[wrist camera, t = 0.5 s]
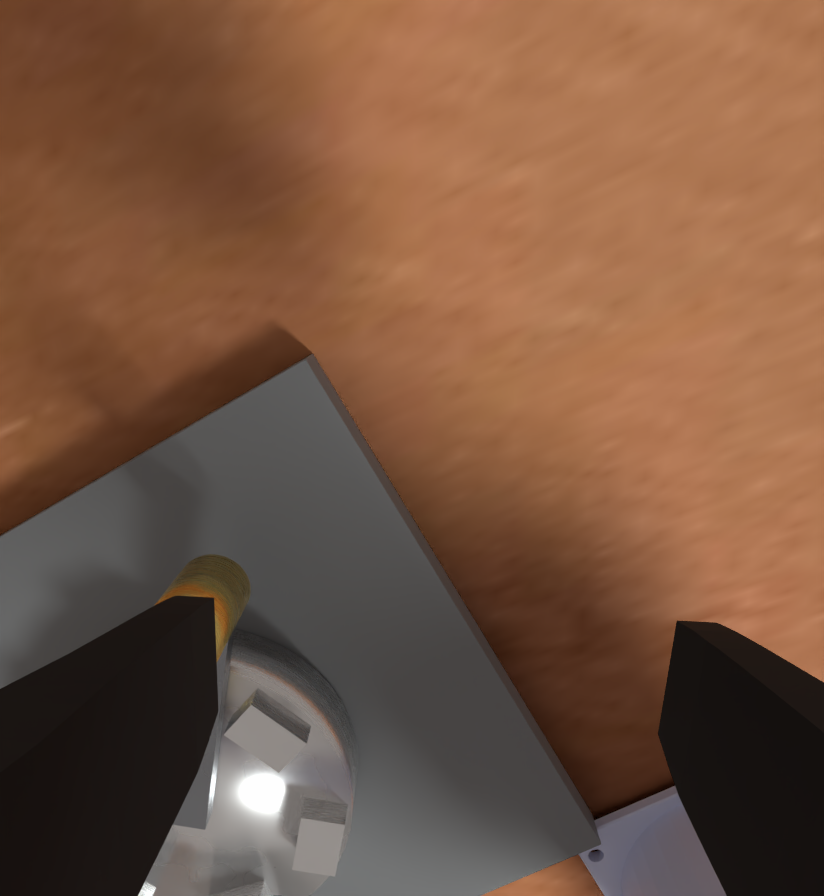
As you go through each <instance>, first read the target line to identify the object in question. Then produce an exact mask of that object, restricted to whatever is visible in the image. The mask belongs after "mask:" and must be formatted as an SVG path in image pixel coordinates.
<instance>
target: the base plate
mask: <svg viewBox="0 0 824 896" xmlns="http://www.w3.org/2000/svg"><path fill="white" fill-rule="evenodd" d="M208 554H215V555H221V556H224V557H227V558H229V559H231V560H233V561H235V562H236V563H237V564H238V565H240V566H241V568H242V569H243V570H244V571H245V573H246V574H247V576H248V579H249V582H250V587H251V593H250V598H249V601H248V603H247V605H246V607H245V609H244V611H243V613H242V615H241V617H240V618H239V620H238V622H237V624H236V626H235V630H239V631H244V632H248V633H251V634H254V635H257V636H260V637H263V638H265V639H268V640H270V641H272V642H274V643H276V644H278V645H280V646H282V647H285V648H286V649H288V650H290V651H291V652H293V653H294V654H296V655H297V656H299V657H300V658H302V659H303V660H305V661H306V662H307V663H308V664H309V665H311V666H312V667H313V668H314V669H315V670H317V671H318V672H319V673H320V674H321V676H322V677H323V678H324V679H325V680H326V681H327V682H328V683H329V684H330V685H331V687H332V688H333V689H334V691H335V692H336V694H337V695H338V696H339V698H340V699H341V701H342V703H343V705H344V707H345V709H346V710H347V712H348V714H349V717H350V719H351V722H352V725H353V728H354V731H355V736H356V741H357V746H358V771H357V779H356V787H355V795H354V803H353V811H352V819H351V826H350V833H349V836H348V840H347V843H346V847H345V849H344V851H343V853H342V856H341V858H340V860H339V862H338V864H337V869H336V874H335V877H334V876H329V877H328V878H327V879H326V880H325V881H324V882H323V883H322V885H321V886H320V887H319V888H318V889H317V890H316V891H314V892H313V893H312V894H311V895H310V896H481V895H483V894H485V893H488V892H490V891H492V890H495V889H497V888H499V887H502V886H504V885H507V884H509V883H511V882H514V881H516V880H518V879H521V878H523V877H525V876H528V875H530V874H533V873H535V872H537V871H540V870H542V869H544V868H547V867H549V866H551V865H554V864H556V863H559V862H561V861H563V860H566V859H568V858H570V857H573V856H575V855H577V854H580V853H582V852H585V851H587V850H589V849H592V848H594V847H596V846H599V845H601V841H600V838H599V835H598V831H597V828H596V825H595V822H594V819H593V815H592V813H591V812H590V810H589V808H588V807H587V805H586V803H585V802H584V800H583V798H582V797H581V795H580V793H579V792H578V790H577V788H576V787H575V785H574V784H573V782H572V780H571V779H570V777H569V775H568V774H567V772H566V770H565V769H564V767H563V765H562V764H561V762H560V760H559V759H558V757H557V755H556V754H555V752H554V751H553V749H552V747H551V746H550V744H549V742H548V741H547V739H546V737H545V736H544V734H543V732H542V731H541V729H540V727H539V726H538V724H537V722H536V721H535V719H534V717H533V716H532V714H531V713H530V711H529V709H528V708H527V706H526V704H525V703H524V701H523V699H522V698H521V696H520V694H519V693H518V691H517V689H516V688H515V686H514V684H513V683H512V681H511V680H510V678H509V676H508V675H507V673H506V671H505V670H504V668H503V666H502V665H501V663H500V661H499V660H498V658H497V656H496V655H495V653H494V651H493V650H492V648H491V647H490V645H489V643H488V642H487V640H486V638H485V637H484V635H483V633H482V632H481V630H480V628H479V627H478V625H477V623H476V622H475V620H474V618H473V617H472V615H471V614H470V612H469V610H468V609H467V607H466V605H465V604H464V602H463V600H462V599H461V597H460V595H459V594H458V592H457V590H456V589H455V587H454V585H453V584H452V582H451V581H450V579H449V577H448V576H447V574H446V572H445V571H444V569H443V567H442V566H441V564H440V562H439V561H438V559H437V557H436V556H435V554H434V552H433V551H432V549H431V548H430V546H429V544H428V543H427V541H426V539H425V538H424V536H423V534H422V533H421V531H420V529H419V528H418V526H417V524H416V523H415V521H414V519H413V518H412V516H411V515H410V513H409V511H408V510H407V508H406V506H405V505H404V503H403V501H402V500H401V498H400V496H399V495H398V493H397V491H396V490H395V488H394V486H393V485H392V483H391V482H390V480H389V478H388V477H387V475H386V473H385V472H384V470H383V468H382V467H381V465H380V463H379V462H378V460H377V458H376V457H375V455H374V453H373V452H372V450H371V448H370V447H369V445H368V444H367V442H366V440H365V439H364V437H363V435H362V434H361V432H360V430H359V429H358V427H357V425H356V424H355V422H354V420H353V419H352V417H351V415H350V414H349V412H348V411H347V409H346V407H345V406H344V404H343V402H342V401H341V399H340V397H339V396H338V394H337V392H336V391H335V389H334V387H333V386H332V384H331V382H330V381H329V379H328V378H327V376H326V374H325V373H324V371H323V369H322V368H321V366H320V364H319V363H318V361H317V359H316V358H315V356H314V354H313V353H312V354H311V355H309V356H307V357H306V358H304V359H302V360H300V361H299V362H297V363H295V364H294V365H292V366H290V367H288V368H287V369H285V370H283V371H282V372H280V373H278V374H276V375H275V376H273V377H271V378H270V379H268V380H266V381H264V382H263V383H261V384H259V385H258V386H256V387H254V388H252V389H251V390H249V391H247V392H246V393H244V394H242V395H240V396H239V397H237V398H235V399H233V400H232V401H230V402H228V403H227V404H225V405H223V406H221V407H220V408H218V409H216V410H215V411H213V412H211V413H209V414H208V415H206V416H204V417H203V418H201V419H199V420H197V421H196V422H194V423H192V424H191V425H189V426H187V427H185V428H184V429H182V430H180V431H179V432H177V433H175V434H173V435H172V436H170V437H168V438H167V439H165V440H163V441H161V442H160V443H158V444H156V445H154V446H153V447H151V448H149V449H148V450H146V451H144V452H142V453H141V454H139V455H137V456H136V457H134V458H132V459H130V460H129V461H127V462H125V463H124V464H122V465H120V466H118V467H117V468H115V469H113V470H112V471H110V472H108V473H106V474H105V475H103V476H101V477H100V478H98V479H96V480H94V481H93V482H91V483H89V484H88V485H86V486H84V487H82V488H81V489H79V490H77V491H76V492H74V493H72V494H70V495H69V496H67V497H65V498H63V499H62V500H60V501H58V502H57V503H55V504H53V505H51V506H50V507H48V508H46V509H45V510H43V511H41V512H39V513H38V514H36V515H34V516H33V517H31V518H29V519H27V520H26V521H24V522H22V523H21V524H19V525H17V526H15V527H14V528H12V529H10V530H9V531H7V532H5V533H3V534H2V535H0V689H1V688H3V687H5V686H7V685H9V684H10V683H12V682H14V681H16V680H18V679H20V678H22V677H24V676H26V675H28V674H30V673H32V672H34V671H36V670H38V669H40V668H42V667H44V666H46V665H47V664H49V663H51V662H53V661H55V660H57V659H59V658H61V657H63V656H65V655H67V654H69V653H71V652H72V651H74V650H76V649H78V648H80V647H81V646H83V645H85V644H87V643H89V642H90V641H92V640H94V639H96V638H97V637H99V636H101V635H103V634H105V633H106V632H108V631H110V630H112V629H113V628H115V627H117V626H119V625H121V624H122V623H124V622H126V621H128V620H129V619H131V618H133V617H135V616H136V615H138V614H140V613H142V612H144V611H145V610H147V609H149V608H151V607H153V606H154V605H155V604H156V603H157V601H158V600H159V599H160V597H161V596H162V595H163V594H164V592H165V591H166V590H167V589H168V587H169V586H170V585H171V583H172V582H173V581H174V580H175V578H176V577H177V576H178V575H179V573H180V572H181V571H182V569H183V568H184V567H185V566H186V565H187V564H188V563H189V562H190V561H191V560H193V559H195V558H197V557H199V556H202V555H208Z"/></svg>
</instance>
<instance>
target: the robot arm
mask: <svg viewBox="0 0 824 896" xmlns="http://www.w3.org/2000/svg"><path fill="white" fill-rule="evenodd" d="M217 714H218V685H217V658H216V632H215V605H214V597H194V596H173V597H171V598H169V599H167V600H164V601H162V602H160V603H158V604H157V605H155V606H153V607H151V608H149V609H147V610H145V611H144V612H142V613H140V614H138V615H136V616H135V617H133V618H131V619H129V620H128V621H126V622H124V623H122V624H121V625H119V626H117V627H115V628H113V629H112V630H110V631H108V632H106V633H105V634H103V635H101V636H99V637H97V638H96V639H94V640H92V641H90V642H89V643H87V644H85V645H83V646H81V647H80V648H78V649H76V650H74V651H72V652H71V653H69V654H67V655H65V656H63V657H61V658H59V659H57V660H55V661H53V662H51V663H49V664H47V665H46V666H44V667H42V668H40V669H38V670H36V671H34V672H32V673H30V674H28V675H26V676H24V677H22V678H20V679H18V680H16V681H14V682H12V683H10V684H9V685H7V686H5V687H3V688H1V689H0V896H138V895H139V893H140V891H141V889H142V886H143V884H144V882H145V880H146V878H147V876H148V874H149V872H150V870H151V868H152V866H153V864H154V862H155V860H156V858H157V856H158V854H159V852H160V850H161V848H162V846H163V844H164V842H165V840H166V837H167V835H168V833H169V831H170V829H171V827H172V825H173V823H174V821H175V819H176V817H177V815H178V813H179V811H180V809H181V807H182V804H183V802H184V800H185V798H186V796H187V794H188V792H189V790H190V788H191V786H192V784H193V781H194V779H195V777H196V775H197V773H198V771H199V768H200V765H201V762H202V759H203V756H204V753H205V751H206V748H207V745H208V742H209V739H210V736H211V733H212V730H213V726H214V723H215V720H216V717H217ZM658 735H659V738H660V741H661V744H662V748H663V751H664V754H665V757H666V760H667V763H668V767H669V770H670V773H671V775H672V778H673V781H674V784H675V786H673V787H671V788H668V789H666V790H664V791H661V792H659V793H657V794H654V795H652V796H650V797H647V798H645V799H643V800H640V801H638V802H636V803H633V804H631V805H629V806H626V807H624V808H622V809H619V810H617V811H615V812H612V813H610V814H608V815H605V816H603V817H601V818H598V819H596V820H594V822H595V825H596V828H597V831H598V835H599V838H600V841H601V845H599V846H596V847H594V848H592V849H589V850H587V851H585V852H582V853H580V854H579V856H580V858H581V859H582V861H583V862H584V864H585V866H586V867H587V869H588V870H589V872H590V874H591V875H592V877H593V878H594V880H595V882H596V883H597V885H598V886H599V888H600V890H601V891H602V893H603V894H604V896H824V682H822V681H820V680H818V679H817V678H815V677H813V676H812V675H810V674H808V673H807V672H805V671H803V670H801V669H800V668H798V667H796V666H795V665H793V664H791V663H790V662H788V661H786V660H785V659H783V658H781V657H779V656H778V655H776V654H774V653H773V652H771V651H769V650H768V649H766V648H764V647H762V646H761V645H759V644H757V643H755V642H754V641H752V640H750V639H748V638H746V637H745V636H743V635H741V634H739V633H737V632H735V631H733V630H731V629H729V628H727V627H725V626H723V625H721V624H718V623H711V622H691V621H677V623H676V629H675V635H674V641H673V647H672V653H671V659H670V665H669V671H668V677H667V683H666V689H665V695H664V701H663V707H662V713H661V719H660V725H659V731H658ZM596 849H597V850H598V851H595V852H591V851H592V850H596Z"/></svg>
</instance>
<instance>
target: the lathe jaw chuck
mask: <svg viewBox="0 0 824 896" xmlns="http://www.w3.org/2000/svg"><path fill="white" fill-rule="evenodd" d="M250 593H251V587H250V582H249V579H248V576H247V574H246V573H245V571H244V570H243V569H242V568H241V566H240V565H238V564H237V563H236V562H235V561H233V560H231V559H229V558H227V557H224V556H221V555H215V554H208V555H202V556H199V557H197V558H195V559H193V560H191V561H190V562H189V563H188V564H187V565H186V566H185V567H184V568H183V569H182V571H181V572H180V573H179V575H178V576H177V577H176V578H175V580H174V581H173V582H172V583H171V585H170V586H169V587H168V589H167V590H166V591H165V592H164V594H163V595H162V596H161V597H160V599H159V600H158V601H157V603H156V604H155V605H157V604H158V603H160V602H162V601H164V600H167V599H169V598H171V597H173V596H194V597H214V605H215V632H216V658H217V685H218V714H217V717H216V720H215V723H214V726H213V730H212V733H211V736H210V739H209V742H208V745H207V748H206V751H205V753H204V756H203V759H202V762H201V765H200V768H199V771H198V773H197V775H196V777H195V779H194V781H193V784H192V786H191V788H190V790H189V792H188V794H187V796H186V798H185V800H184V802H183V804H182V807H181V809H180V811H179V813H178V815H177V817H176V819H175V821H174V823H173V825H172V827H171V829H170V831H169V833H168V835H167V837H166V840H165V842H164V844H163V846H162V848H161V850H160V852H159V854H158V856H157V858H156V860H155V862H154V864H153V866H152V868H151V870H150V872H149V874H148V876H147V878H146V880H145V882H144V884H143V886H142V889H141V891H140V893H139V895H138V896H310V895H311V894H312V893H313V892H314V891H316V890H317V889H318V888H319V887H320V886H321V885H322V883H323V882H324V881H325V880H326V879H327V878H328V877H329V876H334V877H335V874H336V869H337V864H338V862H339V860H340V858H341V856H342V853H343V851H344V849H345V847H346V843H347V840H348V836H349V833H350V826H351V819H352V811H353V803H354V795H355V787H356V779H357V771H358V746H357V741H356V736H355V731H354V728H353V725H352V722H351V719H350V717H349V714H348V712H347V710H346V709H345V707H344V705H343V703H342V701H341V699H340V698H339V696H338V695H337V694H336V692H335V691H334V689H333V688H332V687H331V685H330V684H329V683H328V682H327V681H326V680H325V679H324V678H323V677H322V676H321V674H320V673H319V672H318V671H317V670H315V669H314V668H313V667H312V666H311V665H309V664H308V663H307V662H306V661H305V660H303V659H302V658H300V657H299V656H297V655H296V654H294V653H293V652H291V651H290V650H288V649H286V648H285V647H282V646H280V645H278V644H276V643H274V642H272V641H270V640H268V639H265V638H263V637H260V636H257V635H254V634H251V633H248V632H244V631H239V630H235V626H236V624H237V622H238V620H239V618H240V617H241V615H242V613H243V611H244V609H245V607H246V605H247V603H248V601H249V598H250ZM155 605H154V606H155Z"/></svg>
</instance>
